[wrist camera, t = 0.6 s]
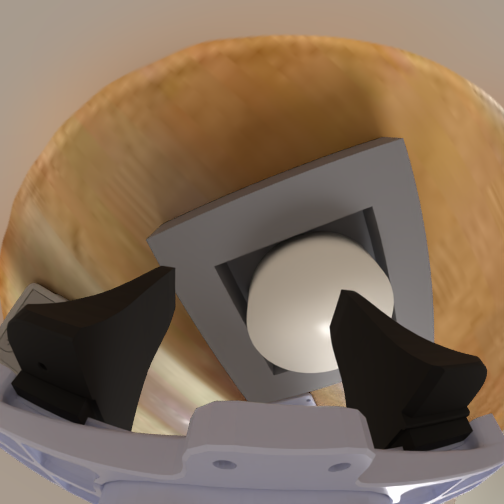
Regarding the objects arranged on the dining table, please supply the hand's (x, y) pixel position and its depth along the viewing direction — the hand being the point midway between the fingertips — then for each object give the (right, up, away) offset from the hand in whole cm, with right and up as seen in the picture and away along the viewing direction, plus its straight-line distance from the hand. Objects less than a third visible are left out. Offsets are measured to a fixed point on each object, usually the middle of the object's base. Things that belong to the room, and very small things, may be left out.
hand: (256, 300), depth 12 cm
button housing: (+5, 0, +11) cm, 12 cm away
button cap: (+5, -1, +9) cm, 10 cm away
